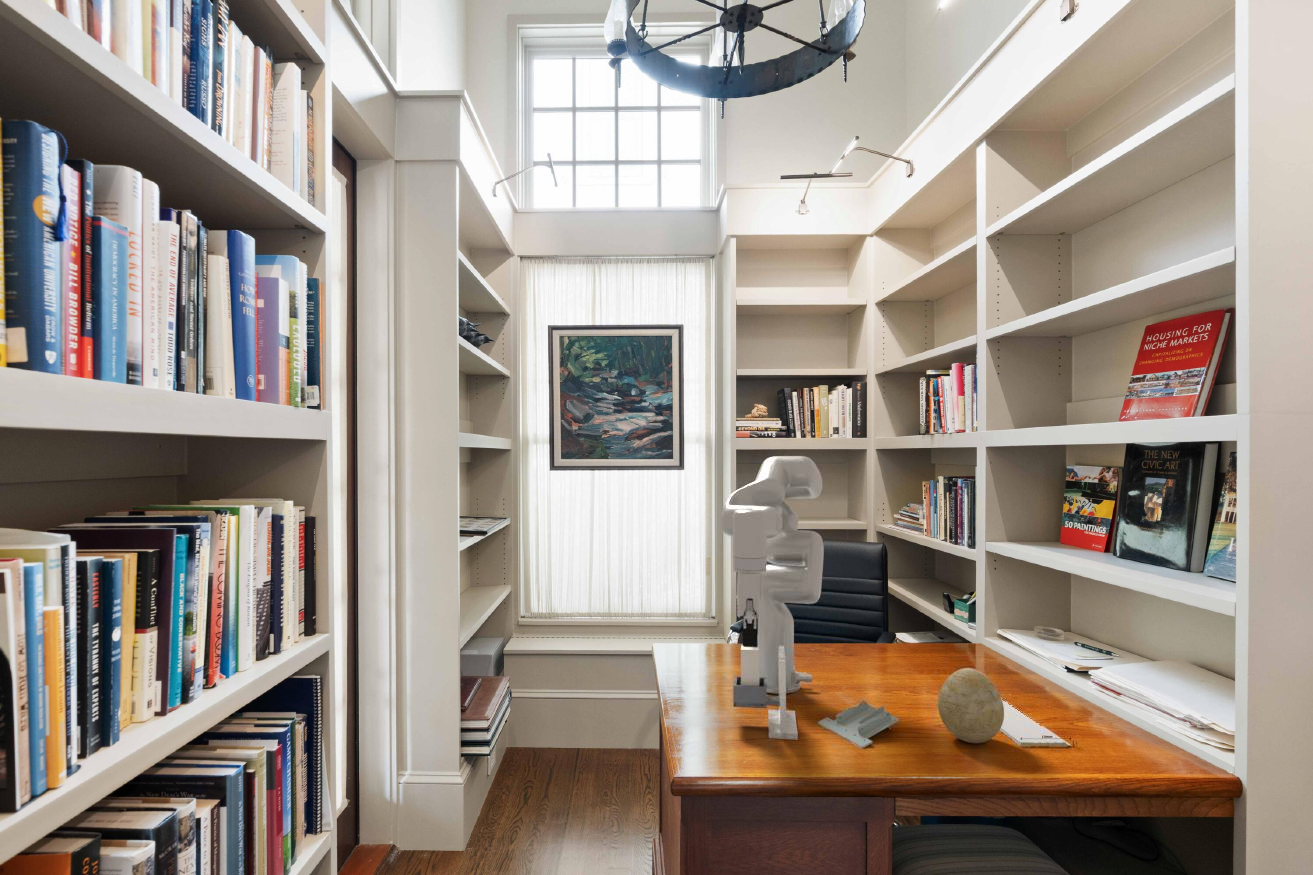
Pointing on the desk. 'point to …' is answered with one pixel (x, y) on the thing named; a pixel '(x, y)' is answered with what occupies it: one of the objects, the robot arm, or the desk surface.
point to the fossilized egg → (971, 706)
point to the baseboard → (1028, 730)
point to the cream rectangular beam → (749, 666)
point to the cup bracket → (769, 702)
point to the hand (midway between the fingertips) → (750, 640)
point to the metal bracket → (859, 723)
